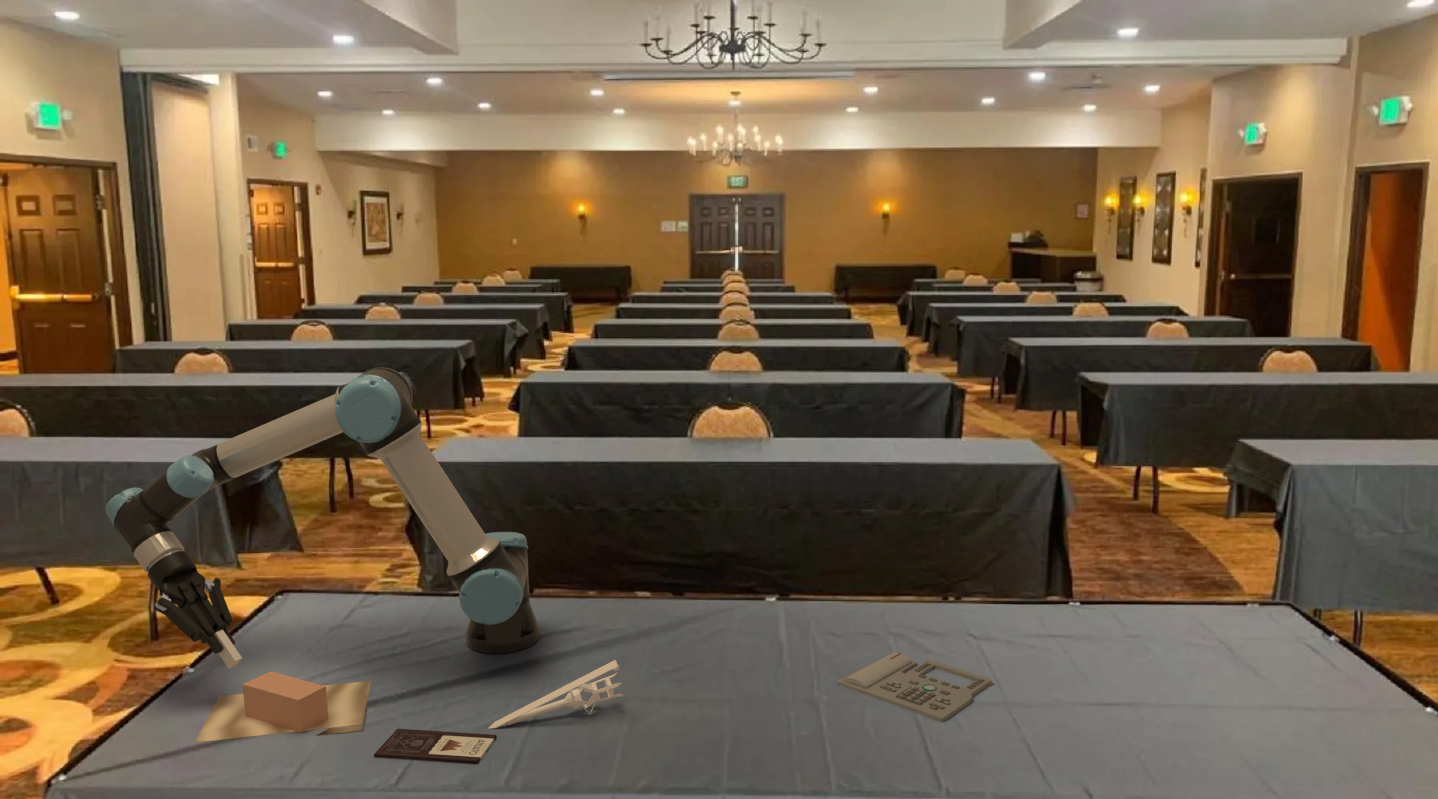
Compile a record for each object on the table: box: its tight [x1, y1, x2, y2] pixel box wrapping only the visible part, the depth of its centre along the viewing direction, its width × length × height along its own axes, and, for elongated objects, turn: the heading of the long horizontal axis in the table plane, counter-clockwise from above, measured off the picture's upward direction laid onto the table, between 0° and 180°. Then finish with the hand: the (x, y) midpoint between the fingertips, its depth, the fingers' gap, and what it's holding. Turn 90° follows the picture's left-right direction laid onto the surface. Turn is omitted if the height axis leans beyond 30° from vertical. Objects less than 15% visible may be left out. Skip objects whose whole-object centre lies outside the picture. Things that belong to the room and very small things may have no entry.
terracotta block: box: [241, 671, 328, 733], centre depth 188 cm, size 6×6×14 cm
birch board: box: [194, 680, 373, 744], centre depth 192 cm, size 27×18×1 cm, turn 103°
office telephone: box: [836, 652, 993, 723], centre depth 202 cm, size 23×3×20 cm
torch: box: [487, 659, 624, 730], centre depth 191 cm, size 6×9×25 cm
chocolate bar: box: [373, 728, 497, 765], centre depth 180 cm, size 9×1×18 cm
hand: (235, 663), depth 193 cm, fingers closed
